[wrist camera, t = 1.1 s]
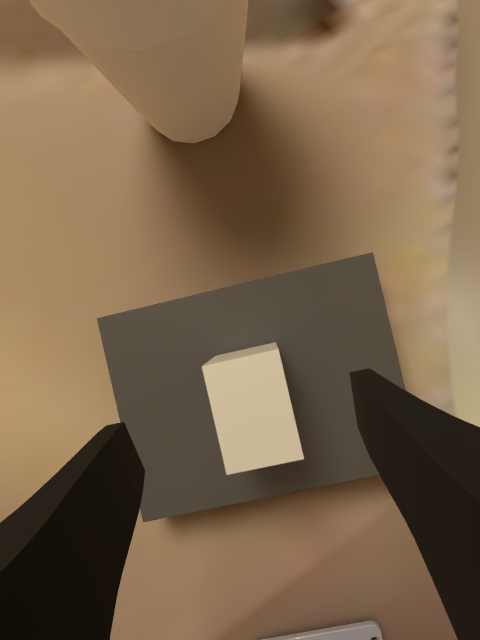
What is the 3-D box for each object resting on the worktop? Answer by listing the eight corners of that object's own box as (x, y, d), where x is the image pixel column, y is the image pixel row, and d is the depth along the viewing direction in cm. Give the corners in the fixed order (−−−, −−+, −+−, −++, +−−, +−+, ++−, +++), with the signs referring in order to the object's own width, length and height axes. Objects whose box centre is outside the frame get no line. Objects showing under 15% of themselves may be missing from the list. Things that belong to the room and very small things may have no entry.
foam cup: (272, 29, 24) (280, -312, 11) (253, 173, 24) (238, 5, 11) (128, 17, 25) (-25, -318, 12) (110, 158, 25) (-62, -18, 12)
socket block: (403, 447, 24) (423, 466, 21) (158, 497, 25) (143, 522, 22) (359, 260, 24) (372, 252, 21) (117, 318, 25) (96, 318, 22)
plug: (291, 412, 24) (304, 459, 16) (239, 423, 24) (226, 474, 16) (274, 338, 24) (278, 348, 16) (222, 350, 24) (201, 366, 16)
